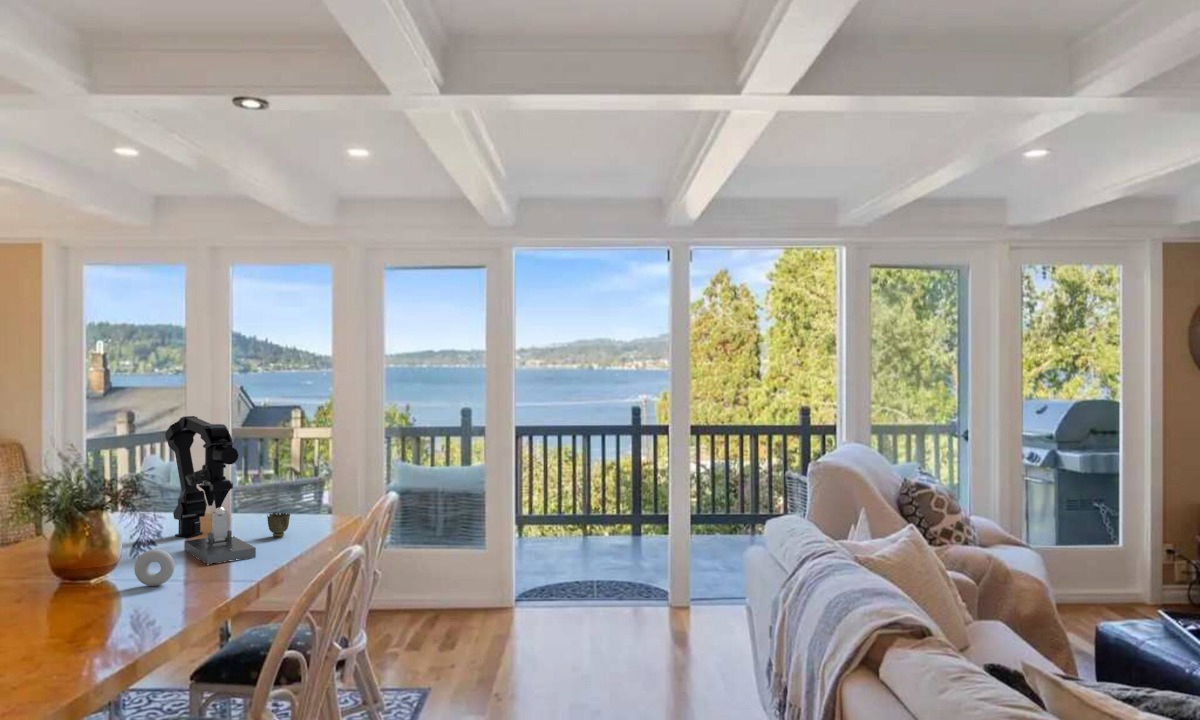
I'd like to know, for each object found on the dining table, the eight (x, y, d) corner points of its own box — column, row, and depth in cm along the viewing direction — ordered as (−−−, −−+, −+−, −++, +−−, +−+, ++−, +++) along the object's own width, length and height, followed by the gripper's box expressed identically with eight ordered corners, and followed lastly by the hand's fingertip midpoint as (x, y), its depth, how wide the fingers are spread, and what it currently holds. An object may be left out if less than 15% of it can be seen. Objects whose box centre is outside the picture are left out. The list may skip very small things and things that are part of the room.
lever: (211, 542, 239) (211, 507, 239) (224, 540, 242) (225, 505, 242) (214, 544, 237) (214, 508, 237) (227, 542, 240) (228, 506, 240)
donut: (176, 583, 208) (176, 547, 208) (171, 586, 205) (172, 550, 205) (137, 584, 206) (137, 548, 206) (131, 588, 203) (132, 551, 203)
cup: (284, 539, 259) (284, 516, 259) (263, 539, 260) (263, 516, 260) (293, 534, 267) (293, 512, 267) (272, 534, 267) (273, 511, 267)
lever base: (184, 550, 244) (184, 528, 244) (230, 543, 253) (230, 522, 253) (207, 565, 226) (207, 542, 226) (255, 557, 236) (255, 535, 236)
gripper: (180, 460, 255) (179, 506, 255) (197, 467, 242) (196, 515, 242) (215, 458, 263) (214, 502, 263) (233, 463, 250) (233, 510, 250)
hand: (213, 507), depth 254 cm, fingers open, 7 cm apart
